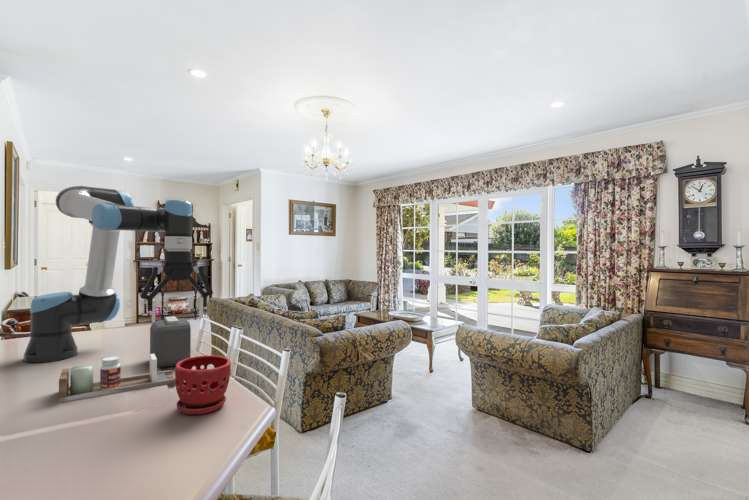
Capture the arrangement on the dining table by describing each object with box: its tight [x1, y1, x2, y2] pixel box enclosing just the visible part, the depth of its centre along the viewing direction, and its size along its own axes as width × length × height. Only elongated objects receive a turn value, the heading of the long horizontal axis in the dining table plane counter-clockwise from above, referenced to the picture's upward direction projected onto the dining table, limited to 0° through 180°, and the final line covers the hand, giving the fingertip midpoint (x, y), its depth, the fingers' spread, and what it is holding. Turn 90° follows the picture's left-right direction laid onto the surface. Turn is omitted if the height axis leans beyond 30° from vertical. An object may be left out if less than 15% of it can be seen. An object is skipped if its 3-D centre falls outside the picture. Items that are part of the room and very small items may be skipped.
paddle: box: [149, 353, 167, 382], centre depth 115 cm, size 7×4×7 cm, turn 35°
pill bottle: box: [99, 356, 122, 390], centre depth 108 cm, size 5×5×8 cm
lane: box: [58, 367, 176, 404], centre depth 110 cm, size 10×27×7 cm, turn 125°
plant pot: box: [174, 355, 232, 415], centre depth 98 cm, size 13×13×12 cm
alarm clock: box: [149, 315, 192, 368], centre depth 136 cm, size 16×11×16 cm
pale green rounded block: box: [69, 364, 94, 395], centre depth 104 cm, size 5×5×7 cm
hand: (178, 319), depth 118 cm, fingers open, 12 cm apart
